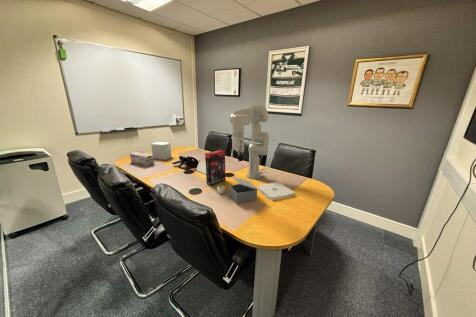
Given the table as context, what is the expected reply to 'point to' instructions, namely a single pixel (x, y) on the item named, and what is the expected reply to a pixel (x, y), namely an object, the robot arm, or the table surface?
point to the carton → (242, 193)
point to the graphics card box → (215, 167)
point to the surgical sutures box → (142, 159)
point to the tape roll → (221, 189)
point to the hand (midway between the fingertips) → (237, 158)
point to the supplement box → (161, 150)
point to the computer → (275, 191)
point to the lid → (244, 183)
